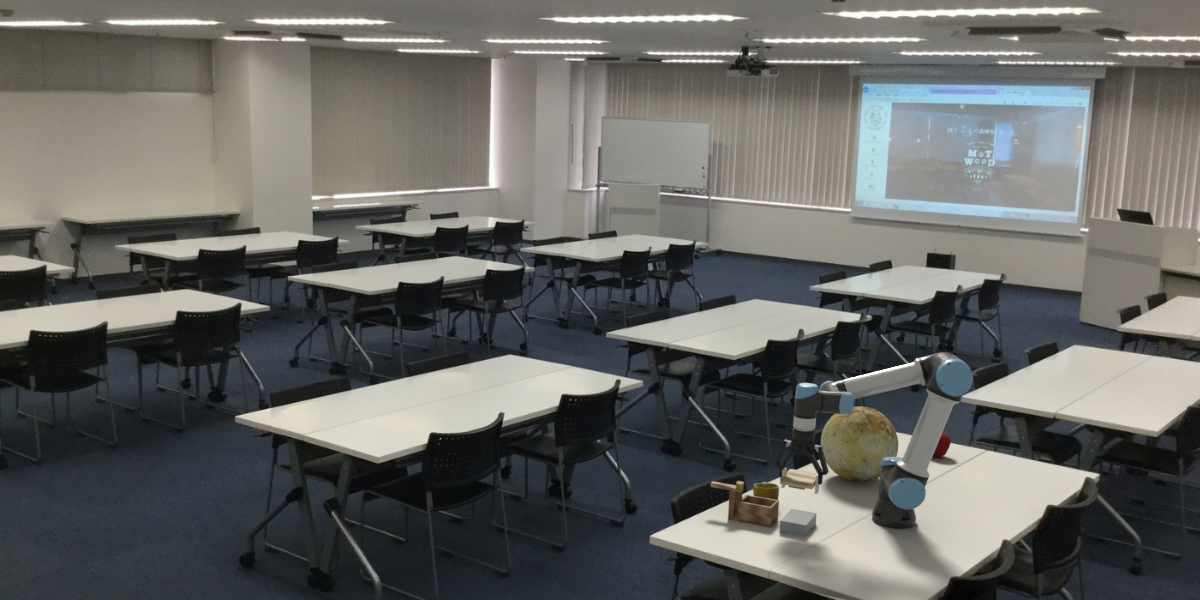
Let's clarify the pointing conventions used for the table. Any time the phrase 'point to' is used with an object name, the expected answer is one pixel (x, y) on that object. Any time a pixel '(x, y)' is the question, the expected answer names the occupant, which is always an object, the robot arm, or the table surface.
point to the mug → (766, 490)
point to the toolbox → (752, 508)
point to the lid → (798, 479)
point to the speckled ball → (858, 443)
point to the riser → (798, 522)
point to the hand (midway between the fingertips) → (799, 490)
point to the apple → (942, 445)
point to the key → (728, 486)
